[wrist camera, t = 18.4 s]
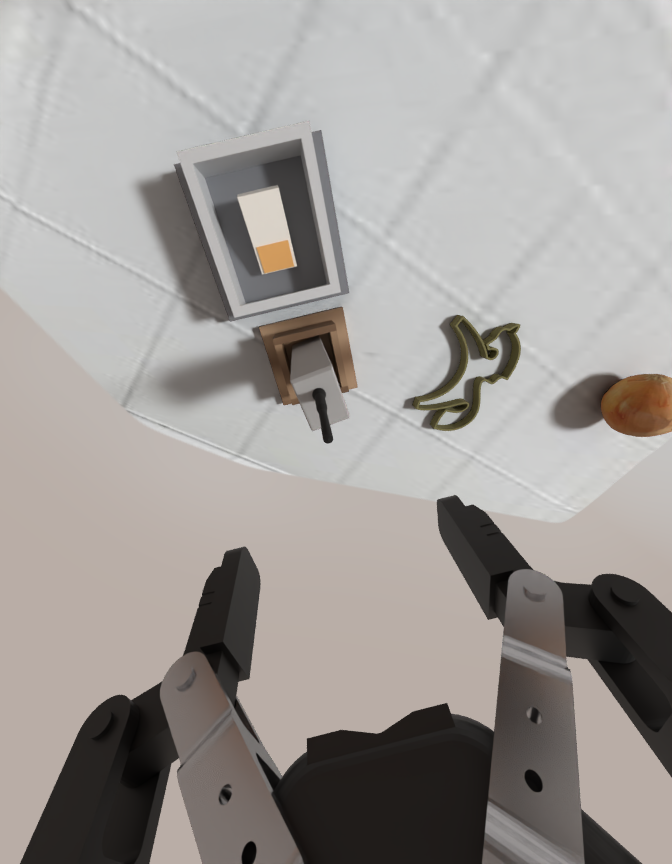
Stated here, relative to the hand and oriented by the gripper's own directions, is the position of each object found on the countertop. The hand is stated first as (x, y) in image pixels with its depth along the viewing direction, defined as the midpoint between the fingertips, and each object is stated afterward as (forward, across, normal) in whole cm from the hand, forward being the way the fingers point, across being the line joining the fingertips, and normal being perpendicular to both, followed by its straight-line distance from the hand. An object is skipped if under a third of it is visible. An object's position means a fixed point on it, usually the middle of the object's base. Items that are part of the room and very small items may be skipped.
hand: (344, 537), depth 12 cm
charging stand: (+33, 0, 0) cm, 33 cm away
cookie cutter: (+33, -22, +8) cm, 41 cm away
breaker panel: (+33, +1, -15) cm, 36 cm away
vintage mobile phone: (+32, 0, 0) cm, 32 cm away
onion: (+33, -48, +18) cm, 61 cm away
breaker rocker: (+29, +1, -15) cm, 32 cm away
